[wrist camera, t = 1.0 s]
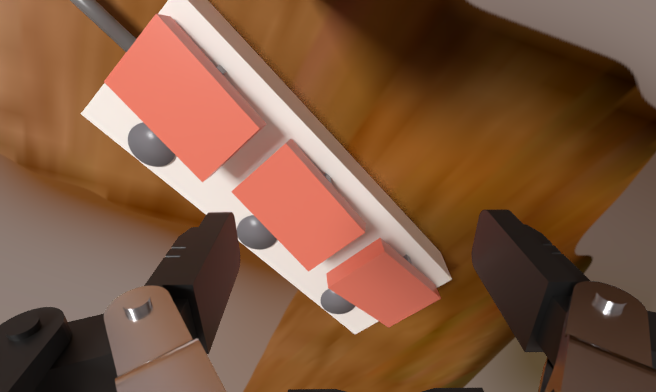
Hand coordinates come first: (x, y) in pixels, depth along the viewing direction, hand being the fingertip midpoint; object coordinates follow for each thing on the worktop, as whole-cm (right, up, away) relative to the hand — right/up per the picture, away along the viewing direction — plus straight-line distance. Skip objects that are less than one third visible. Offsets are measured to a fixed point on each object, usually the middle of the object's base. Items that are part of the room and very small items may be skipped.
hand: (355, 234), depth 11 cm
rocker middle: (-3, 0, +16) cm, 16 cm away
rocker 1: (-10, +8, +12) cm, 18 cm away
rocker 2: (+4, -7, +20) cm, 22 cm away
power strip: (-7, +5, +20) cm, 22 cm away
